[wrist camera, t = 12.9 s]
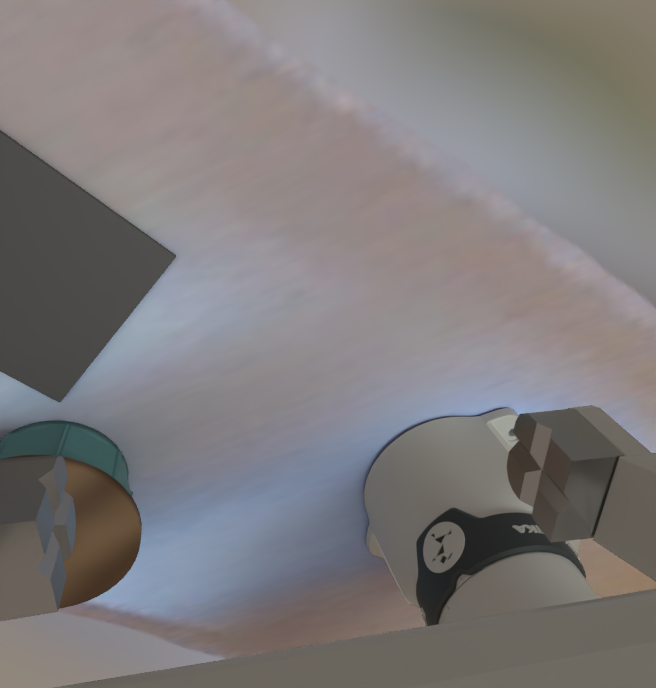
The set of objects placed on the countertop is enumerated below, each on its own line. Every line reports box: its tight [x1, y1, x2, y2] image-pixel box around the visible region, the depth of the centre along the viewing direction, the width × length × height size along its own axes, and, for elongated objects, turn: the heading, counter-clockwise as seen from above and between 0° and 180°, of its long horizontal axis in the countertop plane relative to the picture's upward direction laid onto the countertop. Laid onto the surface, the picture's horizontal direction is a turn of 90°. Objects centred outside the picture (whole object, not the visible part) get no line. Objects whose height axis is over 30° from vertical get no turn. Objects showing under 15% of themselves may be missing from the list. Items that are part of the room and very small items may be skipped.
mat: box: [0, 130, 176, 402], centre depth 38 cm, size 14×14×1 cm
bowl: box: [0, 421, 133, 496], centre depth 43 cm, size 10×10×6 cm
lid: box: [4, 455, 141, 608], centre depth 38 cm, size 13×13×4 cm
